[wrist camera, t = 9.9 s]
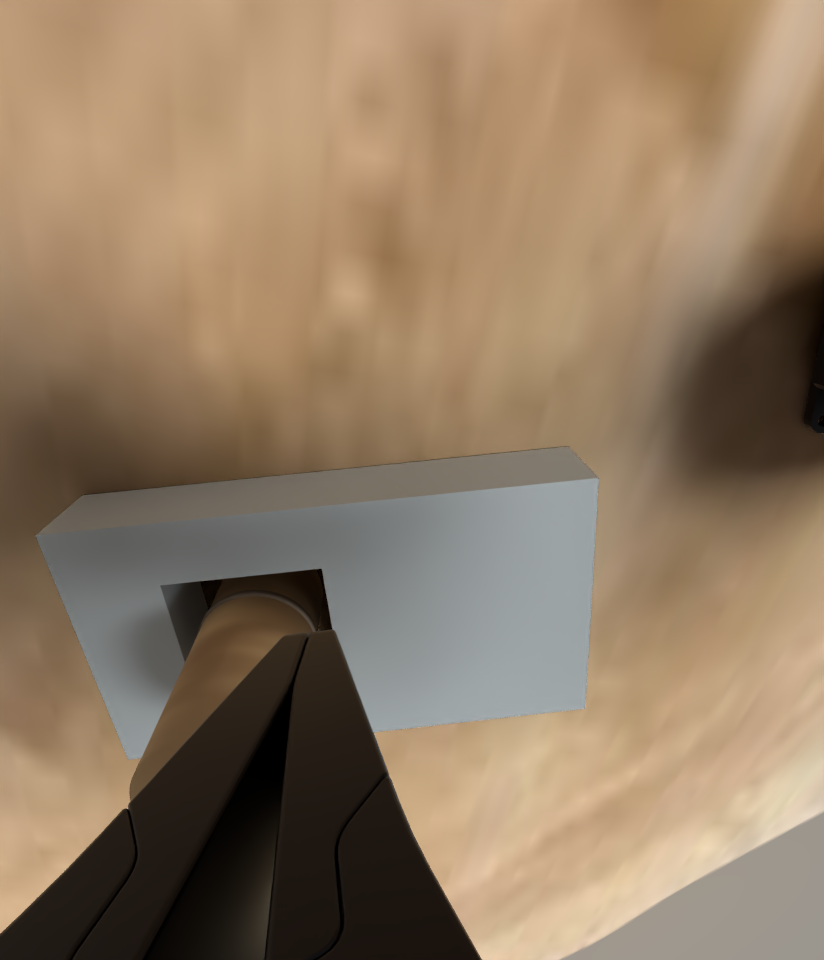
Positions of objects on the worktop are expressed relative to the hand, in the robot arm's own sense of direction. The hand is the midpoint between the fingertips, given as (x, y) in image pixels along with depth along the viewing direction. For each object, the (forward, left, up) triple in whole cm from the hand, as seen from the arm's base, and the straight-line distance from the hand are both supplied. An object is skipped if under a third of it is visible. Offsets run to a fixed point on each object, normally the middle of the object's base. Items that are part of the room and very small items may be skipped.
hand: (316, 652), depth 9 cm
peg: (+4, +7, -12) cm, 14 cm away
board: (+1, +7, -12) cm, 13 cm away
